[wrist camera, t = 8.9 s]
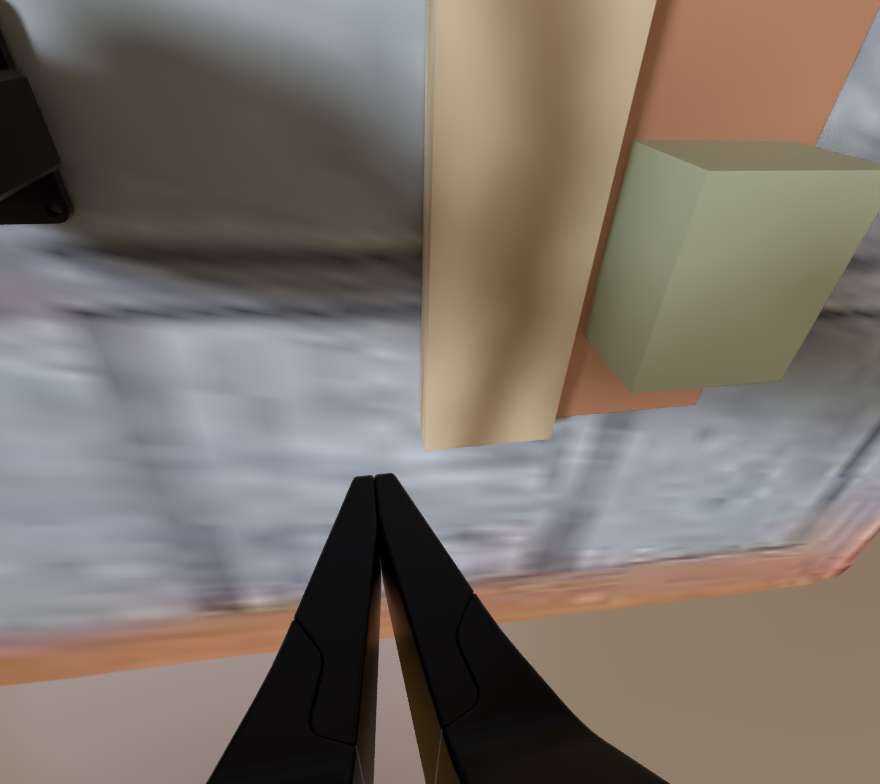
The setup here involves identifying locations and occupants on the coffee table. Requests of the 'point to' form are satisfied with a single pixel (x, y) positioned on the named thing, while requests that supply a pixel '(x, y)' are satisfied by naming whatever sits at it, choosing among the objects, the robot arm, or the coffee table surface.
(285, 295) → the coffee table surface
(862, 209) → the green block
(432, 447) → the birch board
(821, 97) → the rubber mat
